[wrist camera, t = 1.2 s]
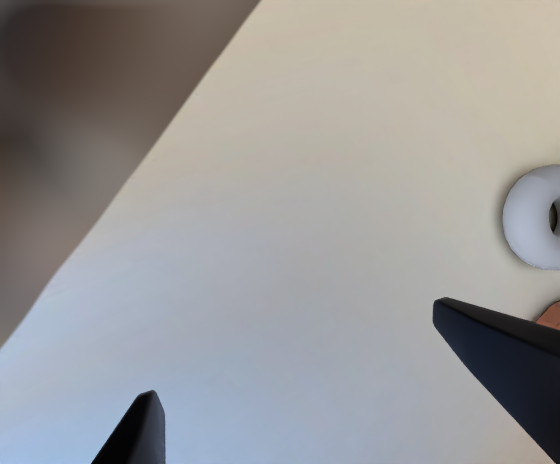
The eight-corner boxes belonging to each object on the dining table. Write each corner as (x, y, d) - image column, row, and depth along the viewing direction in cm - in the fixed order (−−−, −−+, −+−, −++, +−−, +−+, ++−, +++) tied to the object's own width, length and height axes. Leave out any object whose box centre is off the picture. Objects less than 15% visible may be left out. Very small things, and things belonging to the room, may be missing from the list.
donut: (545, 285, 31) (590, 202, 31) (585, 293, 27) (634, 200, 28) (475, 234, 29) (523, 147, 29) (508, 236, 25) (562, 138, 26)
